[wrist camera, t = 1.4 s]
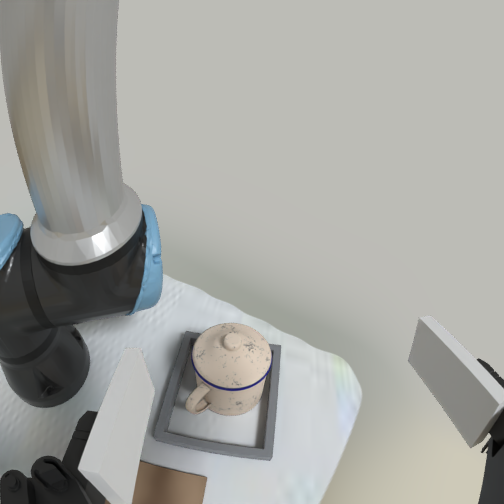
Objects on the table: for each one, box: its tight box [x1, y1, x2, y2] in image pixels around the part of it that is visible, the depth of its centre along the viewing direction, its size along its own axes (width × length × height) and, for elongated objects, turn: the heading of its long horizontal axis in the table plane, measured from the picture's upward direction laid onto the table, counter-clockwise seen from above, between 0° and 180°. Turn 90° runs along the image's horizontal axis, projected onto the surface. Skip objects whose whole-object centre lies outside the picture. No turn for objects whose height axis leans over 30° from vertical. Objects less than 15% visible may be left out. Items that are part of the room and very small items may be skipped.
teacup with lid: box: [185, 323, 272, 416], centre depth 33 cm, size 12×9×12 cm
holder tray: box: [153, 331, 281, 461], centre depth 36 cm, size 14×17×2 cm
